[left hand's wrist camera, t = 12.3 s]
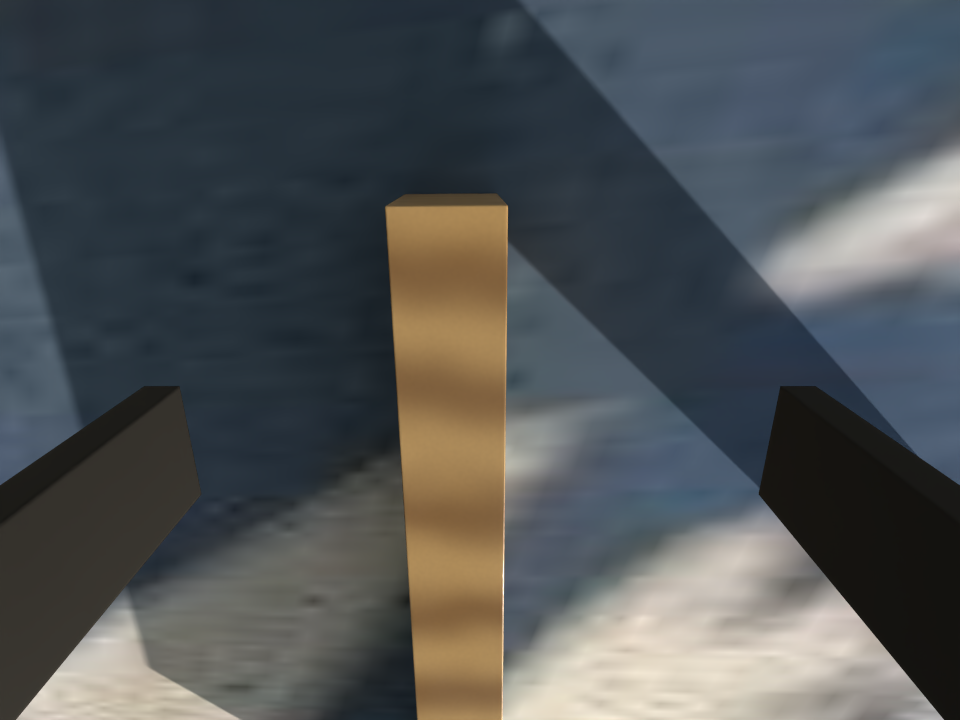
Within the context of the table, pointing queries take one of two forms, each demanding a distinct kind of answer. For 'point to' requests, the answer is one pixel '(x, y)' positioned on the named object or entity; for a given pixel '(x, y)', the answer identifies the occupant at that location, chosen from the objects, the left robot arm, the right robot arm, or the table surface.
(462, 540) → the beam
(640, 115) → the table surface
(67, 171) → the table surface
